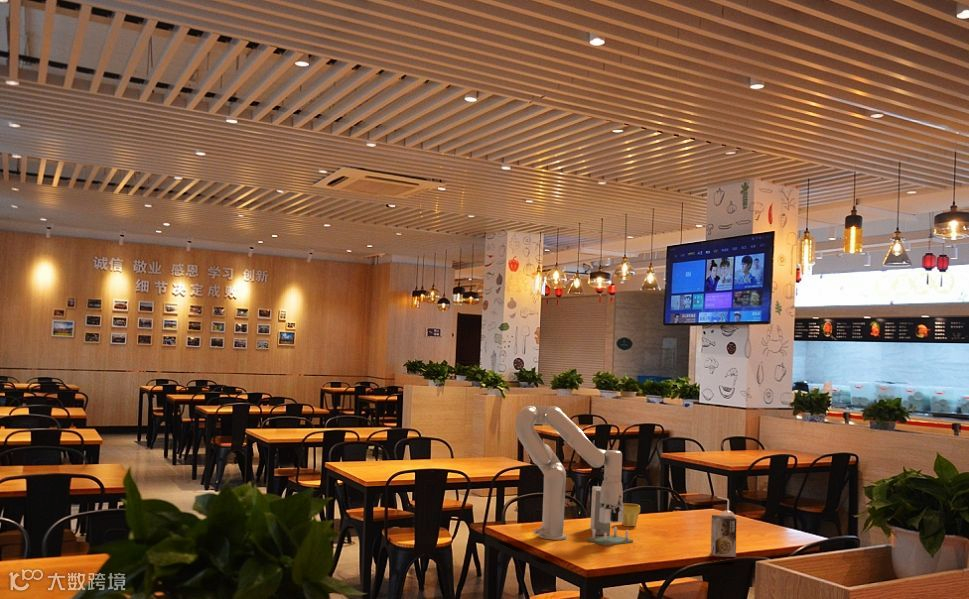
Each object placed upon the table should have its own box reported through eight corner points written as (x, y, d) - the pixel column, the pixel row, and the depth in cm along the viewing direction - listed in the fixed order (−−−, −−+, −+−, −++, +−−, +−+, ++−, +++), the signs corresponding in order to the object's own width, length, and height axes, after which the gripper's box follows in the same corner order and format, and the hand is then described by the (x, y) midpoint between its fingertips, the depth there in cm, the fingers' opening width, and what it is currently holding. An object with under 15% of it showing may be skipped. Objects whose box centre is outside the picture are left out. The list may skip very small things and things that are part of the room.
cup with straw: (733, 544, 384) (734, 499, 386) (713, 540, 389) (715, 496, 390) (738, 541, 391) (740, 497, 393) (719, 538, 396) (720, 494, 398)
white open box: (604, 523, 373) (605, 509, 373) (599, 521, 376) (599, 507, 377) (622, 522, 378) (623, 508, 378) (617, 520, 381) (617, 506, 382)
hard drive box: (610, 536, 388) (612, 491, 389) (593, 535, 388) (595, 490, 390) (606, 529, 404) (607, 486, 405) (589, 528, 404) (591, 485, 405)
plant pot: (613, 524, 417) (614, 503, 417) (628, 522, 423) (629, 502, 423) (629, 528, 408) (629, 507, 409) (644, 526, 414) (644, 506, 415)
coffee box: (731, 553, 364) (732, 515, 366) (736, 557, 358) (737, 518, 359) (710, 552, 364) (711, 514, 365) (714, 556, 358) (715, 517, 359)
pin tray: (604, 545, 367) (605, 534, 367) (587, 540, 376) (587, 528, 376) (632, 542, 377) (633, 530, 377) (615, 537, 386) (615, 526, 386)
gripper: (593, 476, 383) (591, 517, 382) (620, 482, 369) (618, 524, 368) (605, 475, 387) (603, 516, 386) (632, 481, 373) (630, 523, 372)
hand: (610, 520), depth 377 cm, fingers closed on white open box, 4 cm apart
